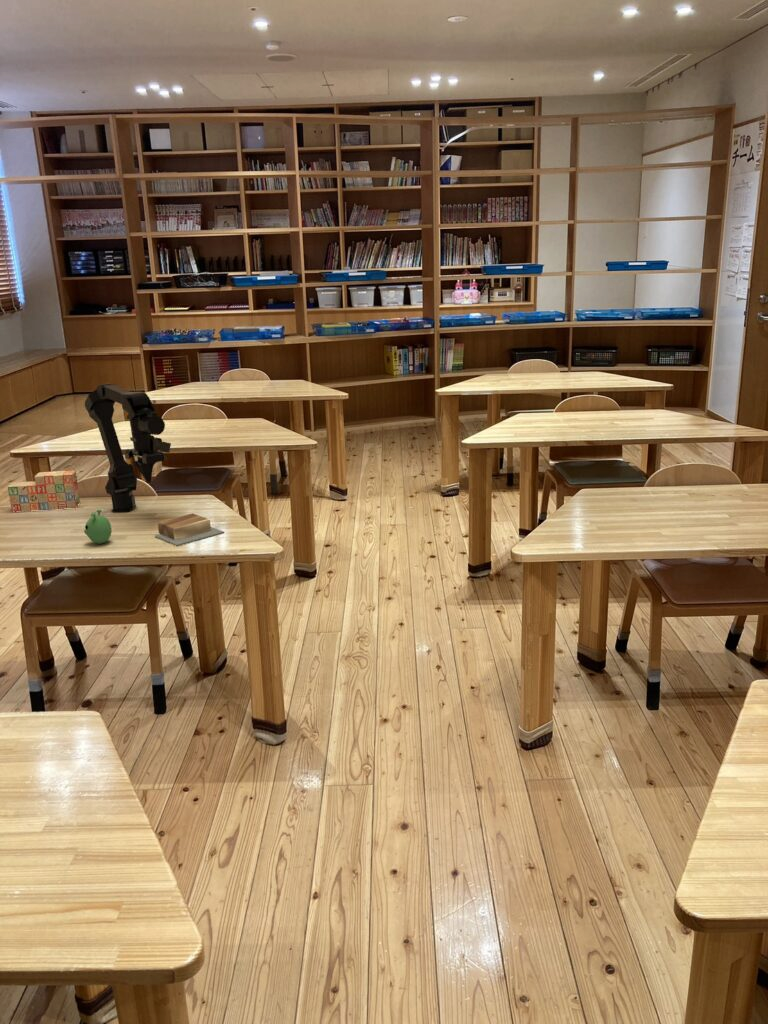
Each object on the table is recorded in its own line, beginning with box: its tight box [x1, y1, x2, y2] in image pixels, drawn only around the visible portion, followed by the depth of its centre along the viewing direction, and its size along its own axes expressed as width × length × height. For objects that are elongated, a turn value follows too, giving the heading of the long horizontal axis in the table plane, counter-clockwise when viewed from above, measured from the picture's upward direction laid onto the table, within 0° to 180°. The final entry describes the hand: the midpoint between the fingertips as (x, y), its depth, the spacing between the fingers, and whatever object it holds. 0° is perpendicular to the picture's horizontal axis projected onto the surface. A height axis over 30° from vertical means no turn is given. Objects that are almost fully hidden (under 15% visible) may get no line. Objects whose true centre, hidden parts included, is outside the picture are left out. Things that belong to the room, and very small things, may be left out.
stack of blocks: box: [7, 470, 81, 512], centre depth 276 cm, size 21×6×12 cm, turn 98°
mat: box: [154, 526, 225, 547], centre depth 243 cm, size 13×16×1 cm
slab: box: [157, 513, 212, 540], centre depth 244 cm, size 4×12×10 cm
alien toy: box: [83, 509, 112, 545], centre depth 237 cm, size 7×8×10 cm
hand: (148, 482), depth 256 cm, fingers closed
